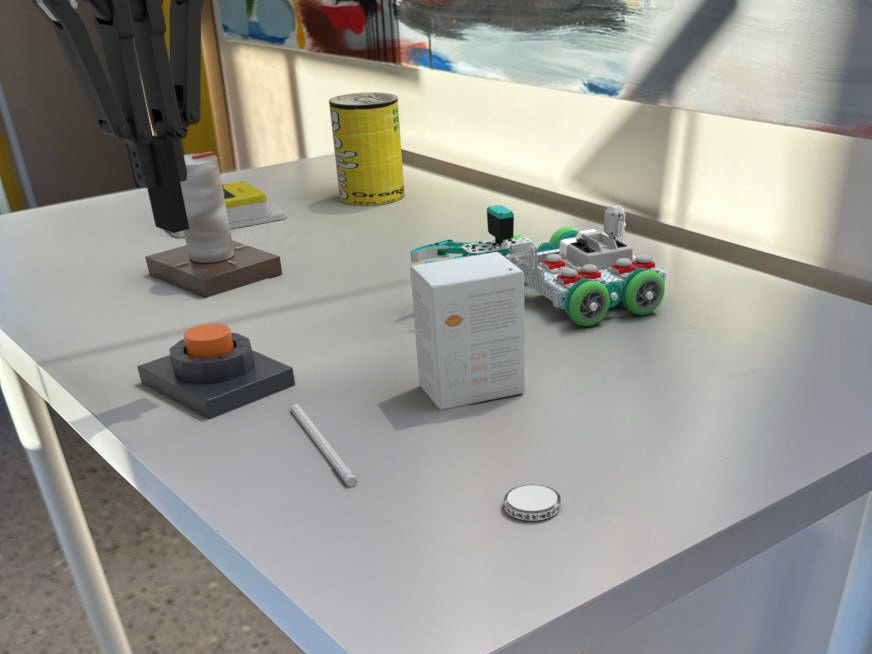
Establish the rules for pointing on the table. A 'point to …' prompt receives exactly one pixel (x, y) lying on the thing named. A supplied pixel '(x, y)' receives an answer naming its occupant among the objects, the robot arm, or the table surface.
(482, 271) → the small box
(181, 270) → the dial panel
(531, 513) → the white flat disc
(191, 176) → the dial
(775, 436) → the table surface
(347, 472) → the white rod
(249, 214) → the yellow box on plate
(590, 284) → the robot kit
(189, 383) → the button housing
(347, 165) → the beverage can
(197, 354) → the push knob
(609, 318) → the table surface
